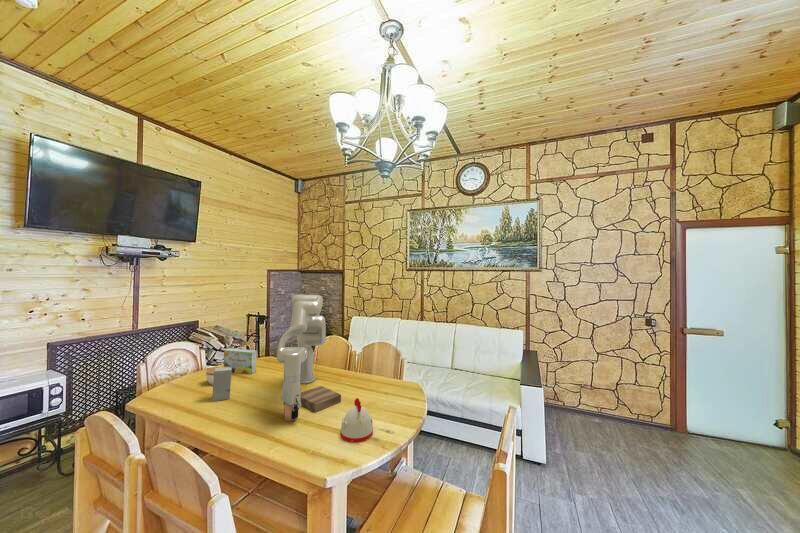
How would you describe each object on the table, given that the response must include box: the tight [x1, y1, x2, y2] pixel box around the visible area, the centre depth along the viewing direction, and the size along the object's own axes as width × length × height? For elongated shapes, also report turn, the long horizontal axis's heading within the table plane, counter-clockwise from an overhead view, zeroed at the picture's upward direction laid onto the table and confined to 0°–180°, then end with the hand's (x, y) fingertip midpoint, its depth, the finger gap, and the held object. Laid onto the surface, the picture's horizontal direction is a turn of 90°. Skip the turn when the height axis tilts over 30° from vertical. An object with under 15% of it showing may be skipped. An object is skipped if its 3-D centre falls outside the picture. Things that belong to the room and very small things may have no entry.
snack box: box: [223, 347, 257, 375], centre depth 203 cm, size 21×6×15 cm, turn 81°
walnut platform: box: [300, 385, 342, 413], centre depth 160 cm, size 18×16×4 cm
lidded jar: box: [205, 367, 219, 386], centre depth 182 cm, size 11×11×9 cm
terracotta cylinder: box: [283, 402, 298, 422], centre depth 142 cm, size 6×6×7 cm
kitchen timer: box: [340, 397, 374, 443], centre depth 131 cm, size 14×14×15 cm
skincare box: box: [211, 366, 233, 402], centre depth 162 cm, size 8×7×16 cm
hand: (290, 415), depth 142 cm, fingers closed on terracotta cylinder, 6 cm apart
